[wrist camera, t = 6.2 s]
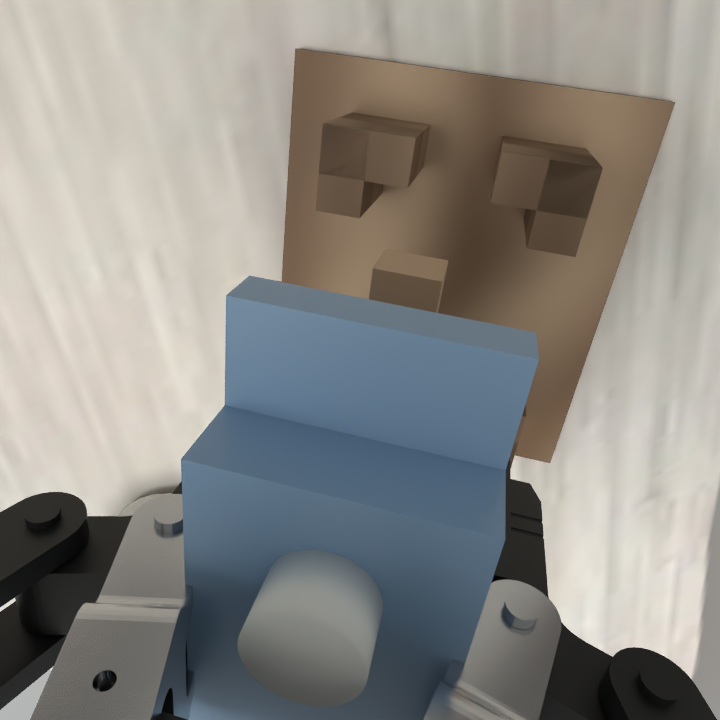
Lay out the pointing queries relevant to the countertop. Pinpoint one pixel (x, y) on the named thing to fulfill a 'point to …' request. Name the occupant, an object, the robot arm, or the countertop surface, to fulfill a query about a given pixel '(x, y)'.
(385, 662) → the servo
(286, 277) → the cradle
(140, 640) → the robot arm
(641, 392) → the countertop surface
